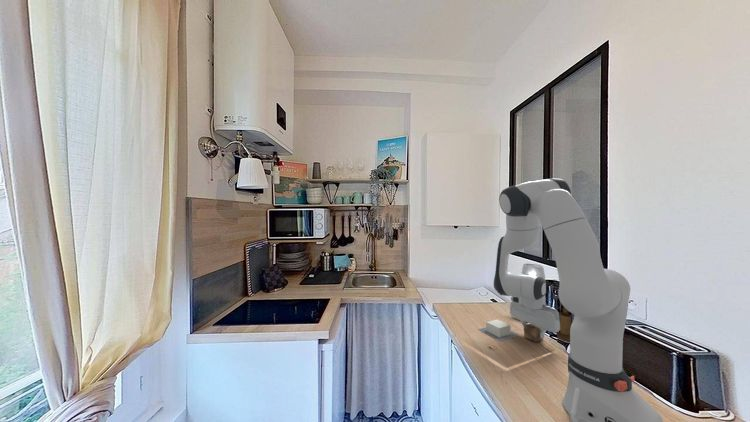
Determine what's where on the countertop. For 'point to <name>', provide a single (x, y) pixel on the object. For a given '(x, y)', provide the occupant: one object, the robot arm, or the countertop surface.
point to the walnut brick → (532, 332)
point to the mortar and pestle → (564, 326)
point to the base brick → (498, 328)
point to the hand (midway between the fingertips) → (533, 334)
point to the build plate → (497, 336)
